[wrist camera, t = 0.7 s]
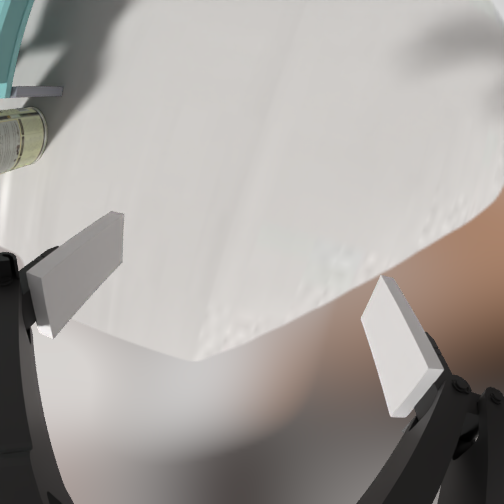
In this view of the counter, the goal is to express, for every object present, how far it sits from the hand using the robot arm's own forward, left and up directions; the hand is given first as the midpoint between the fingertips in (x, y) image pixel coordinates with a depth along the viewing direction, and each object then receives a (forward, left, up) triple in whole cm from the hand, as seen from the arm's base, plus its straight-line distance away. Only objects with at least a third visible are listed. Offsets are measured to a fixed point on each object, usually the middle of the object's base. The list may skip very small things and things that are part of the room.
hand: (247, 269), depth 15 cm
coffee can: (+1, -41, -27) cm, 49 cm away
